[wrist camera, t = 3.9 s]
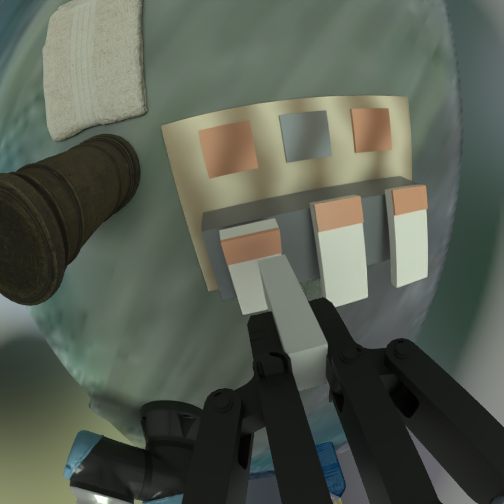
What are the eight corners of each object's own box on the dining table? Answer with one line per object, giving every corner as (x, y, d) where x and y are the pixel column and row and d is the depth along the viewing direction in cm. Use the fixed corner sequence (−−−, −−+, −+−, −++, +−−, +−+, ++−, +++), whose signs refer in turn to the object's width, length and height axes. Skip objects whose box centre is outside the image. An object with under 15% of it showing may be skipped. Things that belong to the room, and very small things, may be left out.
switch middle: (320, 299, 27) (328, 310, 24) (306, 202, 24) (314, 204, 22) (358, 289, 27) (369, 298, 25) (348, 194, 24) (360, 195, 22)
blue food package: (332, 440, 71) (351, 500, 49) (327, 450, 77) (344, 504, 55) (314, 445, 71) (332, 507, 49) (311, 455, 76) (326, 509, 55)
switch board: (208, 284, 34) (208, 293, 33) (163, 125, 25) (160, 126, 23) (402, 238, 35) (409, 244, 33) (400, 96, 25) (409, 97, 24)
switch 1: (239, 298, 28) (243, 317, 27) (218, 222, 22) (220, 242, 20) (280, 288, 29) (286, 307, 27) (271, 211, 22) (279, 229, 20)
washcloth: (146, -19, 16) (140, -30, 13) (153, 114, 24) (146, 114, 22) (56, 15, 15) (44, 9, 12) (61, 141, 23) (47, 145, 21)
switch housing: (220, 274, 32) (222, 301, 28) (203, 212, 28) (201, 231, 24) (398, 233, 33) (419, 250, 28) (400, 175, 29) (425, 187, 25)
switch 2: (386, 280, 27) (398, 288, 25) (379, 188, 25) (392, 190, 22) (416, 270, 27) (428, 277, 25) (411, 184, 25) (425, 185, 22)
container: (136, 126, 24) (35, 150, 8) (146, 206, 28) (83, 311, 13) (66, 143, 23) (-50, 191, 8) (80, 216, 28) (-6, 310, 12)
